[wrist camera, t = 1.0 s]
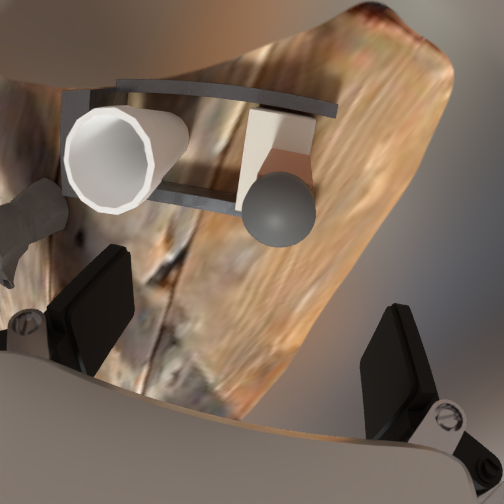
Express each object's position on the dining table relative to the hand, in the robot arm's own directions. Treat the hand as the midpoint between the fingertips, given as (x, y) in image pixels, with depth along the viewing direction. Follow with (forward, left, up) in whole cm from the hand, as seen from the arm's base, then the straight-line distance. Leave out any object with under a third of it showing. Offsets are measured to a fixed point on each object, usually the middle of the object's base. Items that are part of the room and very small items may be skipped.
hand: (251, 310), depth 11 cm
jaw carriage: (0, +1, -27) cm, 27 cm away
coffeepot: (-11, +35, -27) cm, 46 cm away
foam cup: (0, +15, -27) cm, 31 cm away
